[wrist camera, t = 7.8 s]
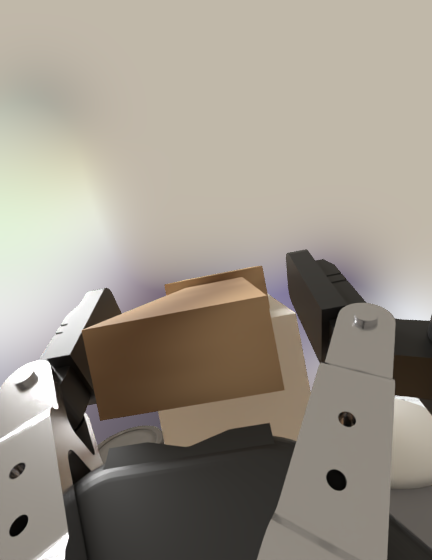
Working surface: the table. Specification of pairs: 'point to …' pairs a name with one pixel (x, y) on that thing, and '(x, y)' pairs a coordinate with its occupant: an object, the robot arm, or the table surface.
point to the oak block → (186, 347)
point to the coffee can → (131, 439)
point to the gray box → (412, 469)
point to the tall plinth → (251, 409)
